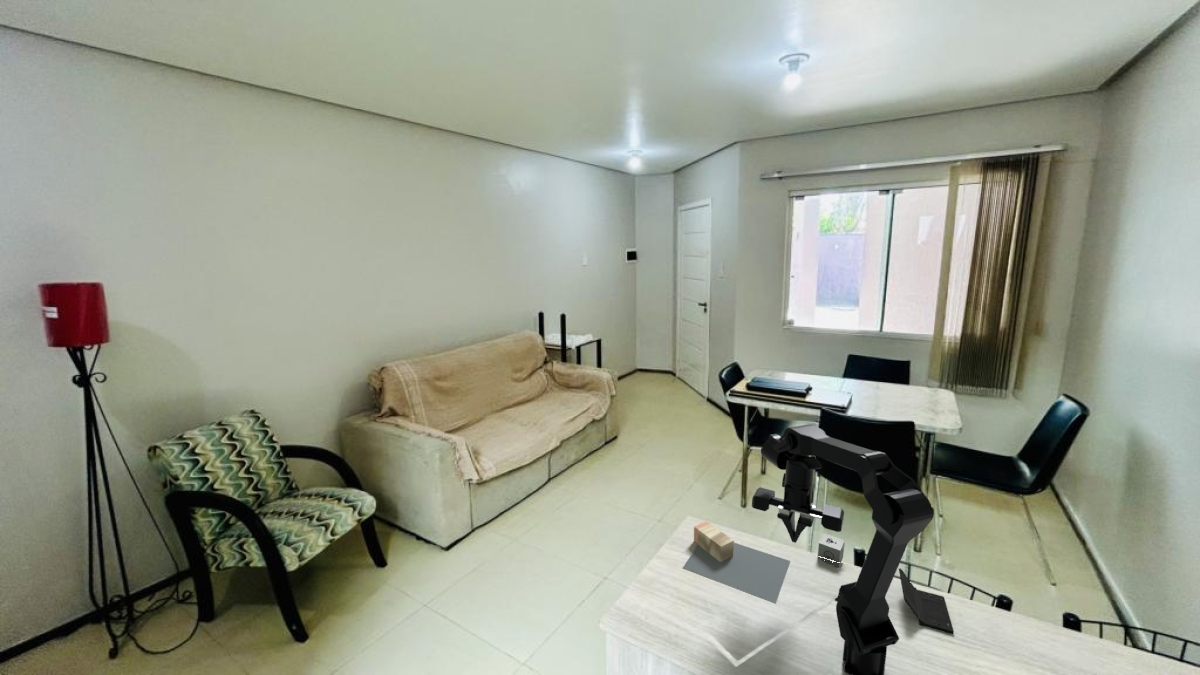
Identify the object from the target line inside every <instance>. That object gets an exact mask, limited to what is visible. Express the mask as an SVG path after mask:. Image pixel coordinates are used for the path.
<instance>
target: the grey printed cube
mask: <svg viewBox="0 0 1200 675" xmlns="http://www.w3.org/2000/svg"><path fill="white" fill-rule="evenodd" d="M845 541H846V540H844V539H842V538H839V537H836V536H833V535H830V534H827V533H823V534H822V536H821V538H820V539H819V541H818V549H817V558H818V559H819V558H820V557H818V556H821V557H825V558H827V559H831V560H834V561H836V562H833V563H832V561H830V560H827V559H824V558H820V560H821V561H823V562H825V563H826V564H827V565H830V566H832V567H835V568H837V569H839V568H840V567H841V566H840V565H841V564H840V563H837V562H841V563H842V561H843V559H844V553H845ZM824 560H825V561H824Z"/></svg>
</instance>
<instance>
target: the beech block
mask: <svg viewBox="0 0 1200 675" xmlns="http://www.w3.org/2000/svg"><path fill="white" fill-rule="evenodd" d="M693 542H694V543H696V544H697V545H699V546H701V547H702V548H703V549H704V550H706V551H707V552H708V553H710V554H711V555H712V556H713V557H715V558H716V559H717V560H718V561H720V562H722V561H724V560H726V559H728V558H730V557H732V556H733V548H734V543H735V540H734V539H732V538H731V537H729V536H728V535H727V534H725V533H724V532H722V531H721V529H719V528H717V527H715V526H714V525H713V524H711V523H709V521H707V520H706V521H704V522H701V523H699V524H697V525H694V526H693Z"/></svg>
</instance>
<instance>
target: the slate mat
mask: <svg viewBox="0 0 1200 675" xmlns="http://www.w3.org/2000/svg"><path fill="white" fill-rule="evenodd" d="M790 564H791V560H788V559H785V558H782V557H779V556H776V555H773V554H770V553H767V552H764V551H761V550H758V549H755V548H752V547H749V546H746V545H744V544H739V543H736V542H734V548H733V556H732V557H730V558H728V559H726V560H724V561H722V562H720V561H718V560H717V559H716V558H715V557H713V556H712V555H711V554H710V553H708V552H707V551H706V550H704V549H703V548H702V547H701V546H699V545H698V544H697V545H696V547H695V548H694V549H693V552H691V555H689V557H688V559H687V561H686V562H685V563H684V565H683V566H682V569H683V570H686V571H689V572H691V573H694V574H696V575H699V576H702V577H705V578H707V579H710V580H712V581H715V582H718V583H720V584H723V585H725V586H728V587H731V588H734V589H736V590H739V591H742V592H744V593H746V594H749V595H752V596H755V597H757V598H760V599H763V600H765V601H767V602H770V603H773V604H777V601H778V598H779V595H780V592H781V590H782V586H783V584H784V580H785V578H786V575H787V573H788V570H789V566H790Z"/></svg>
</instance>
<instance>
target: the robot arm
mask: <svg viewBox="0 0 1200 675" xmlns="http://www.w3.org/2000/svg"><path fill="white" fill-rule="evenodd" d="M760 454H761V456H762V458H764V459H765V460H766V461H767V462H769V463H770V464H772V465H773V466H775V467H776V468H778V469H779V470H782V471H785V472H784V473H783V476H782V480H781V482H782V483H781V487H782V488H783V489H784V490H783V498H780V497H776V491H775V490H772V489H768V488H764V487H760V486H759V487H758V488H757V489H756V491H755V492H754V494H753V495H752V500H751V507H752V509H756V510H758V511H763V512H767V511H768V510H769V509H770V506H773V507H776V508H777V509H778V513H777V514H776V517H777V518H778V519H780V520H781V521H782V523H783V525H784V526H785V528H786V530H787V534H789V537H790V540H791V542H792V543H797V541H798V540H799V537H800V536H801V534H802V532H804V530H805V529H806V528H807V527H808V528H812V527H813V524H814V522H815V518H817V519H820V521H821V522H820V525H821V526H822V527H823V528H824V529H827V530H830V531H834V532H838V533H839V532H842V529H843V524H844V520H845V519H844V518H845V511H844V510H843V508H842V507H838V506H835V505H831V504H826V503H825V504H824V506H823V509H821V508H819V507H816V505H814V504H813V502H814V497H815V491H814V490H815V483H814V472H815V471H814V470H818V469H819V470H820V469H822V468H823V465H822V463H821V462H820V461H819V460H817V458H816V457H818V458H820V459H823V460H826V461H828V462H830V463H833V464H836V465H839V466H841V467H844V468H847V469H849V470H852V471H854V472H856V473H857V475H858V476H859V477H860V479H861V484H862V491H863V497H864V498H865V501H867V503H868V504H869V506H870V508H871V509H872V511H871V512H872V513H871V520H872V521H873V525H874V527H875V529H876V530H875V533H874V536H873V537H872V538H873V539H872V540H871V543H870V545H869V549H868V552H867V554H866V556H865V558H864V562H863V565H862V567H861V569H860V572H859V575H858V578H857V581H853V582H849V583H846V584H842V585H840V587H839V589H838V595H837V596H836V598H834V601H835V602H836V604H835V605H836V606H835V612H836V618H837V624H838V629H839V634H840V637H841V639H843V640H844V642H843V652H842V661H843V662H844V668H843V669H844V673H846V674H849V675H885V670H886V669H885V668H886V660H887V648H888V646H891V645H896V644H897V643H898V641H899V640H900V637H899V635H898V633H897V630H896V629H895V627H894V625H893V623H892V620H891V618H890V616H889V614H890V613H889V612H890V606H889V604H888V601H887V599H886V595H887V593H888V591H889V589H890V586H891V584H892V582H893V579H894V578H895V575H896V572H897V571H898V569H899V568H898V567H899V565H900V563H901V561H902V558H903V556H904V553H905V552H906V549H907V546H908V544H909V543H910V542H911V540H913V539H914V538H916V537H917V536H918V535H919V534H920V533H922V532H923V531H925V529H926V528H927V527H928V525H929V524H930V523H931V522H932V520H933V519H934V515H935V509H934V507H932V503H931V502H930V500H929V499H928V496H926V494H925V493H924V492H923V490H922V489H921V488H920V487H919V485H918V483H917V482H916V481H915V480H914V479H913V478H912V477H911V476H910V475H908V474H907V473H905V472H904V471H903V470H902V469H900V468H899V467H898V466H896V465H895V464H894V463H893V461H892V460H891V458H890V457H889V456H888V454H886V453H885V452H882V451H880V450H879V451H878V450H872V449H869V448H865V447H863V446H859V445H856V444H853V443H849V442H846V441H843V440H841V439H838V438H834V437H831V436H830V435H827V434H826V431H824V430H823V429H822V428H819V427H818V426H816V425H814V424H810V423H809V424H803V425H798V426H796V425H795V426H791V427H786V428H785V429H784V430H783V434H782V435H781V436H780V435H779V434H778V433H774V434H769V435H768V439H767V440H765V441H764V443H763V445H762V447H761V448H760ZM878 475H879V476H881V477H882V478H883V479H885V480H886V481H888V482H889V483H890V484H892V485H893V486H894V487H896V488H897V489H898V491H892V492H886V493H883V492H882V491H881V489H880V487H879V484H878V477H877V476H878ZM812 504H813V505H812ZM796 513H799V517H798V519H797V521H796V515H795V514H796Z"/></svg>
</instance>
